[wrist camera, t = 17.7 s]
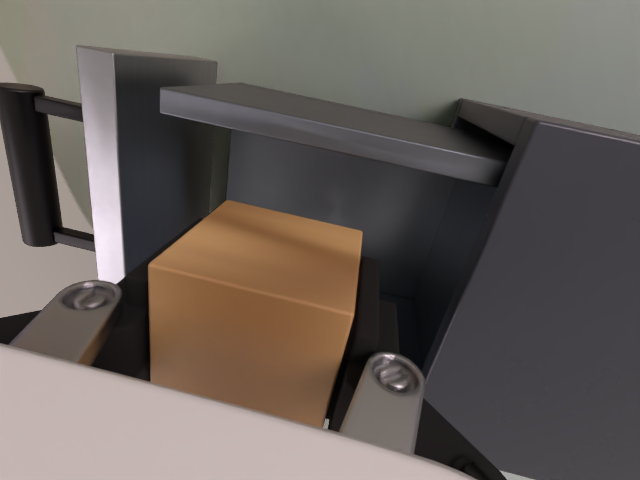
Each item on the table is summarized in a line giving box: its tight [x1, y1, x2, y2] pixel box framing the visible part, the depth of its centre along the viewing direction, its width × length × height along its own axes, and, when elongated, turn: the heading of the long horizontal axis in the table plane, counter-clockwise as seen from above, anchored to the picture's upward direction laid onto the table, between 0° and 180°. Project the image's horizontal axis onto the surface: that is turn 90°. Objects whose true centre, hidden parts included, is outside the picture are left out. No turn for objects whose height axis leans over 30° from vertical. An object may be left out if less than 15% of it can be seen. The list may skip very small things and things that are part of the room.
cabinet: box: [422, 98, 640, 480], centre depth 16 cm, size 16×13×10 cm
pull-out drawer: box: [0, 45, 513, 371], centre depth 17 cm, size 20×11×8 cm, turn 79°
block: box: [148, 200, 363, 428], centre depth 10 cm, size 4×4×4 cm
